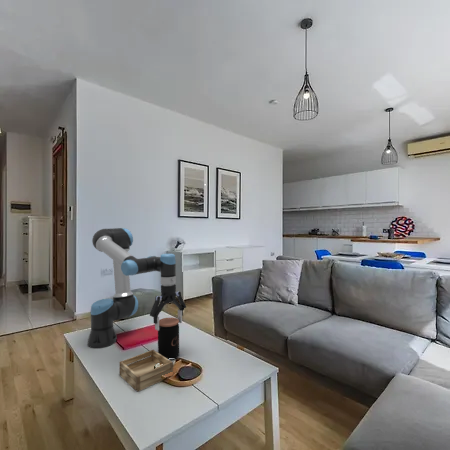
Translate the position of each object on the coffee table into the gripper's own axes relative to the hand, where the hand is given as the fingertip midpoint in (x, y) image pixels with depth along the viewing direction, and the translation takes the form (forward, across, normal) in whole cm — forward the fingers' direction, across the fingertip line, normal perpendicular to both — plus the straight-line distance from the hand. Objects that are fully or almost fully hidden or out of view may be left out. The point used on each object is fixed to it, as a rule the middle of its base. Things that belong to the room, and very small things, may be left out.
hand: (168, 326), depth 142 cm
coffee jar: (+16, 0, 0) cm, 16 cm away
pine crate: (+16, -17, -8) cm, 24 cm away
